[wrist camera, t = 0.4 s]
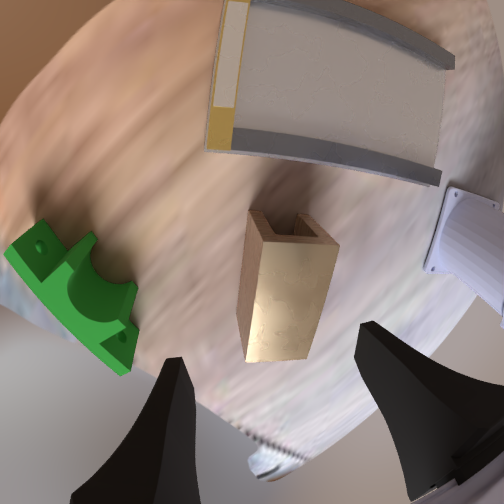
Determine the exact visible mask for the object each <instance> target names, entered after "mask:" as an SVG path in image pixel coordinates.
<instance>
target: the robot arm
mask: <svg viewBox="0 0 504 504" xmlns="http://www.w3.org/2000/svg"><path fill="white" fill-rule="evenodd" d="M499 209H500V204H499V203H498V202H496V201H493V200H490V199H488V198H485V197H482V196H479V195H476V194H473V193H471V192H468V191H465V190H462V189H458V188H455V187H452V186H450V187H449V188H448V189H447V192H446V196H445V200H444V204H443V208H442V211H441V215H440V219H439V222H438V226H437V229H436V232H435V236H434V239H433V242H432V245H431V248H430V251H429V254H428V257H427V260H426V263H425V265H424V272H425V273H427V274H454V275H455V276H456V277H457V278H458V279H460V280H461V281H462V282H463V283H465V284H466V285H467V286H468V287H469V288H471V289H472V290H473V291H474V292H475V293H476V294H478V295H479V296H480V297H481V298H482V299H483V300H484V301H486V302H487V303H488V304H489V305H490V306H491V307H492V308H494V309H495V310H496V311H497V312H498V313H499V314H500V315H501V316H502V317H503V319H502V321H501V324H500V326H501V327H502V328H503V329H504V213H503V212H501V211H499ZM354 359H355V361H356V364H357V367H358V369H359V372H360V374H361V376H362V378H363V380H364V382H365V384H366V386H367V388H368V389H369V391H370V393H371V395H372V396H373V398H374V400H375V402H376V404H377V405H378V407H379V409H380V411H381V413H382V414H383V416H384V418H385V420H386V423H387V425H388V428H389V430H390V433H391V435H392V438H393V441H394V443H395V447H396V449H397V452H398V455H399V459H400V463H401V466H402V470H403V473H404V478H405V483H406V488H407V493H408V497H409V499H410V501H414V500H416V499H418V498H420V497H421V496H423V495H425V494H427V493H429V492H430V491H432V490H434V489H436V488H437V489H436V490H435V491H433V492H432V493H430V494H428V495H426V496H424V497H423V498H421V499H419V500H417V501H415V502H413V503H411V504H504V386H502V385H497V384H492V383H488V382H484V381H480V380H477V379H474V378H471V377H468V376H465V375H463V374H460V373H458V372H455V371H453V370H451V369H449V368H447V367H445V366H443V365H441V364H439V363H437V362H435V361H433V360H431V359H430V358H428V357H426V356H425V355H423V354H421V353H420V352H418V351H417V350H415V349H414V348H412V347H410V346H409V345H407V344H406V343H405V342H403V341H402V340H400V339H399V338H397V337H396V336H395V335H393V334H392V333H390V332H389V331H387V330H386V329H385V328H383V327H382V326H380V325H379V324H378V323H376V322H375V321H369V322H366V323H362V324H360V328H359V334H358V339H357V345H356V350H355V355H354ZM195 433H196V404H195V393H194V387H193V384H192V382H191V379H190V377H189V374H188V372H187V369H186V366H185V364H184V361H183V359H182V357H176V358H167V359H166V360H165V362H164V364H163V367H162V369H161V372H160V374H159V376H158V379H157V381H156V383H155V385H154V387H153V389H152V391H151V394H150V396H149V398H148V400H147V402H146V404H145V405H144V407H143V409H142V411H141V413H140V414H139V416H138V418H137V420H136V421H135V423H134V425H133V426H132V428H131V430H130V431H129V433H128V434H127V435H126V437H125V438H124V440H123V441H122V443H121V444H120V445H119V447H118V448H117V449H116V450H115V452H114V453H113V454H112V455H111V457H110V458H109V459H108V460H107V461H106V462H105V463H104V464H103V465H102V467H101V468H100V469H99V470H98V471H97V472H96V473H95V474H94V475H93V476H92V477H91V478H90V479H89V480H88V481H86V482H85V483H84V484H83V485H82V486H80V487H79V488H78V489H77V490H76V491H75V492H73V493H72V495H71V499H70V504H201V502H200V496H199V489H198V482H197V475H196V465H195Z"/></svg>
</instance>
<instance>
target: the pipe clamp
mask: <svg viewBox="0 0 504 504" xmlns="http://www.w3.org/2000/svg"><path fill="white" fill-rule="evenodd" d="M97 240H98V239H97V238H96V236H95V235H94V234H93V232H92V231H91V232H89V233H88V234H87V235H86V236H85V237H84V238H82V239H81V240H80V241H79V242H78V243H77V244H75V245H74V246H73V247H72V248H71V249H70V250H69V251H67V249H66V248H65V247H64V246H63V244H62V243H61V242H60V240H59V239H58V238H57V236H56V235H55V234H54V232H53V231H52V230H51V228H50V227H49V226H48V224H47V223H46V221H45V220H44V219H42V220H40V221H39V222H38V223H37V224H35V225H34V226H33V227H31V228H30V229H29V230H28V231H26V232H25V233H24V234H23V235H21V236H20V237H19V238H18V239H17V240H15V241H14V242H13V243H12V244H11V245H10V246H9V247H8V249H7V250H6V251H5V253H4V256H5V257H6V259H7V260H8V261H9V263H10V264H11V265H12V267H13V268H14V269H15V270H16V272H17V273H18V274H19V276H20V277H21V278H22V279H23V281H24V282H25V283H26V284H27V285H28V287H29V288H30V289H31V290H32V291H33V293H34V294H35V295H36V296H37V297H38V298H39V299H40V301H41V302H42V303H43V304H44V305H45V306H46V307H47V308H48V309H49V311H50V312H51V313H52V314H53V315H54V316H55V317H56V318H57V319H58V320H59V321H60V322H61V323H62V324H63V325H64V326H65V327H66V328H67V329H68V330H69V331H70V332H71V333H72V334H73V335H74V336H75V337H76V338H77V339H78V340H79V341H80V342H81V343H82V344H83V345H84V346H86V347H87V348H88V349H89V350H90V351H91V352H92V353H93V354H94V355H95V356H97V357H98V358H99V359H100V360H101V361H102V362H104V363H105V364H106V365H107V366H108V367H110V368H111V369H112V370H113V371H114V372H116V373H117V374H118V375H119V376H122V375H124V374H126V373H128V372H130V371H131V367H132V363H133V358H134V353H135V348H136V344H137V339H138V335H139V329H138V328H137V327H136V326H135V325H134V324H133V323H132V322H131V321H130V320H129V317H130V313H131V310H132V307H133V303H134V300H135V297H136V294H137V291H138V287H137V286H136V285H135V284H134V283H133V281H130V282H128V283H125V284H114V283H110V282H108V281H106V280H104V279H102V278H101V277H100V276H99V275H98V274H97V273H96V271H95V270H94V268H93V266H92V263H91V258H90V254H91V249H92V247H93V245H94V244H95V243H96V241H97Z"/></svg>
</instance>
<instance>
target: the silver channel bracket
mask: <svg viewBox="0 0 504 504" xmlns="http://www.w3.org/2000/svg"><path fill="white" fill-rule="evenodd" d="M454 69H455V56H454V55H453V54H451V53H450V52H448V51H447V50H445V49H444V48H442V47H440V46H439V45H437V44H435V43H434V42H432V41H430V40H429V39H427V38H425V37H423V36H422V35H420V34H418V33H416V32H414V31H412V30H411V29H409V28H407V27H405V26H403V25H401V24H399V23H397V22H395V21H392V20H390V19H388V18H386V17H384V16H382V15H379V14H377V13H375V12H372V11H370V10H367V9H365V8H362V7H360V6H357V5H355V4H352V3H349V2H346V1H343V0H224V5H223V11H222V17H221V23H220V29H219V35H218V41H217V48H216V54H215V61H214V68H213V76H212V83H211V91H210V100H209V108H208V117H207V126H206V136H205V147H204V152H213V153H227V154H239V155H250V156H260V157H269V158H278V159H286V160H293V161H301V162H308V163H314V164H321V165H327V166H333V167H339V168H345V169H350V170H356V171H361V172H366V173H371V174H376V175H380V176H385V177H390V178H394V179H398V180H403V181H407V182H411V183H415V184H419V185H423V186H427V187H430V185H434V186H438V187H439V184H440V179H441V175H442V171H441V170H438V169H435V168H434V163H435V157H436V152H437V146H438V140H439V133H440V126H441V119H442V110H443V100H444V89H445V72H446V70H454Z"/></svg>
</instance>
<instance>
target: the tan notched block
mask: <svg viewBox="0 0 504 504" xmlns="http://www.w3.org/2000/svg"><path fill="white" fill-rule="evenodd" d="M339 247H340V245H339V244H338V243H337V242H336V241H335V240H334V239H333V238H332V237H331V236H330V235H329V234H328V233H327V232H326V231H325V230H324V229H323V228H322V227H321V226H320V225H319V224H318V223H317V222H316V221H315V220H314V219H313V218H312V217H311V216H309V215H307V214H297V217H296V223H295V229H294V234H293V235H276V234H275V233H274V232H273V230H272V228H271V227H270V225H269V223H268V222H267V220H266V218H265V217H264V215H263V213H262V212H261V211H257V210H248V217H247V225H246V234H245V242H244V251H243V260H242V268H241V277H240V286H239V295H238V304H237V313H236V315H237V321H238V326H239V331H240V337H241V342H242V347H243V352H244V358H245V362H268V361H286V360H300V359H307V356H308V353H309V350H310V347H311V344H312V341H313V338H314V335H315V332H316V329H317V326H318V323H319V319H320V316H321V313H322V309H323V306H324V303H325V299H326V296H327V292H328V289H329V285H330V282H331V278H332V274H333V271H334V267H335V263H336V259H337V255H338V251H339Z"/></svg>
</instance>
